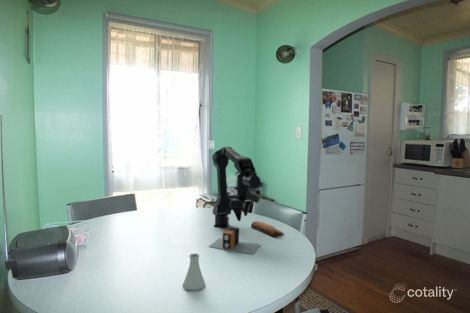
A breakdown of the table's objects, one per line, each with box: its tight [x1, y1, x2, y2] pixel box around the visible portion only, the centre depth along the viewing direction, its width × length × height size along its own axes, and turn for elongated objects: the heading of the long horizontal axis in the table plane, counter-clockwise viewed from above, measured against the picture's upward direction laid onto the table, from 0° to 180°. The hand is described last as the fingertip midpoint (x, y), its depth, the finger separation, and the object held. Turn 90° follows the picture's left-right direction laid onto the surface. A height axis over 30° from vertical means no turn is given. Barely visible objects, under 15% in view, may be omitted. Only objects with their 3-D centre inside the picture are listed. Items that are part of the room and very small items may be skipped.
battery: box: [222, 226, 240, 249], centre depth 126 cm, size 4×7×10 cm
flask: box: [182, 253, 206, 292], centre depth 92 cm, size 7×7×10 cm
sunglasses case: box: [250, 221, 285, 238], centre depth 148 cm, size 18×7×7 cm, turn 35°
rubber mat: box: [208, 237, 261, 256], centre depth 126 cm, size 20×11×1 cm, turn 69°
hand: (242, 218), depth 135 cm, fingers open, 9 cm apart
